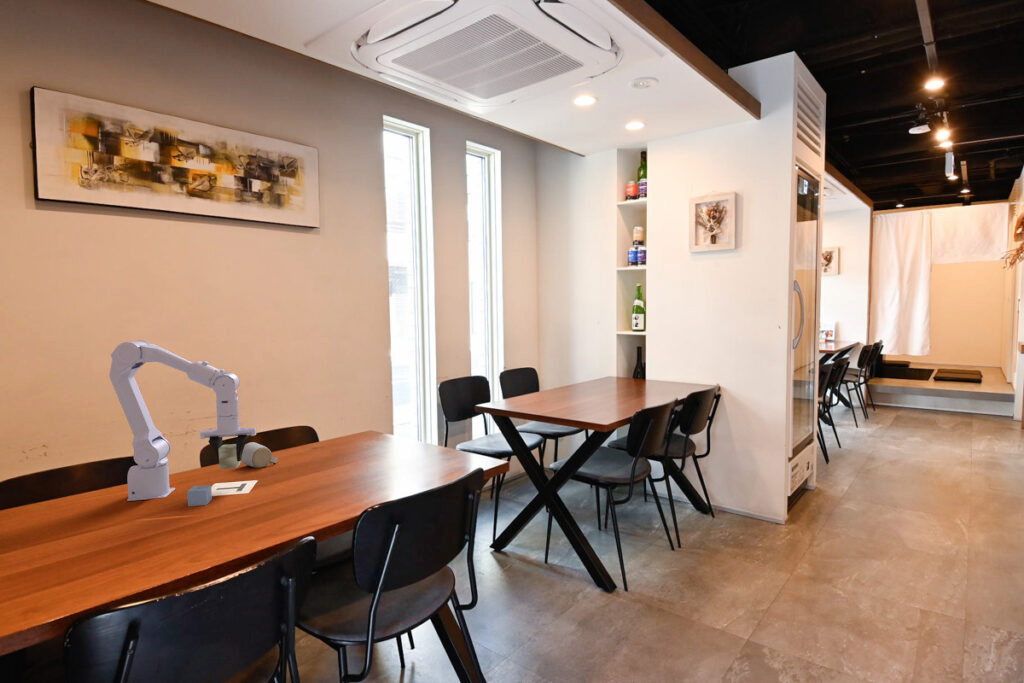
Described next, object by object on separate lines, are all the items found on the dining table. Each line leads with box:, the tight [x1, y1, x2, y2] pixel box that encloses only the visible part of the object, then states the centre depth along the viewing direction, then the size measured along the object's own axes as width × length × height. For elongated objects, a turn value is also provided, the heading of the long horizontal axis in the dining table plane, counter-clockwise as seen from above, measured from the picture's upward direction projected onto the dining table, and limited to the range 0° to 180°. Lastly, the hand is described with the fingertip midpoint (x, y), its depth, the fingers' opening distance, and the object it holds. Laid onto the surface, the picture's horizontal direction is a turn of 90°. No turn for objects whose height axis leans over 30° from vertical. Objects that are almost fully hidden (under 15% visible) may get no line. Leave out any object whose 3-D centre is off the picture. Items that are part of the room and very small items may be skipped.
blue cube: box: [187, 484, 213, 507], centre depth 151 cm, size 4×4×4 cm
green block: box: [218, 443, 241, 470], centre depth 162 cm, size 4×4×6 cm
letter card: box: [211, 479, 259, 497], centre depth 163 cm, size 12×12×1 cm
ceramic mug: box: [240, 441, 278, 469], centre depth 187 cm, size 11×8×8 cm
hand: (229, 461), depth 162 cm, fingers closed on green block, 4 cm apart
